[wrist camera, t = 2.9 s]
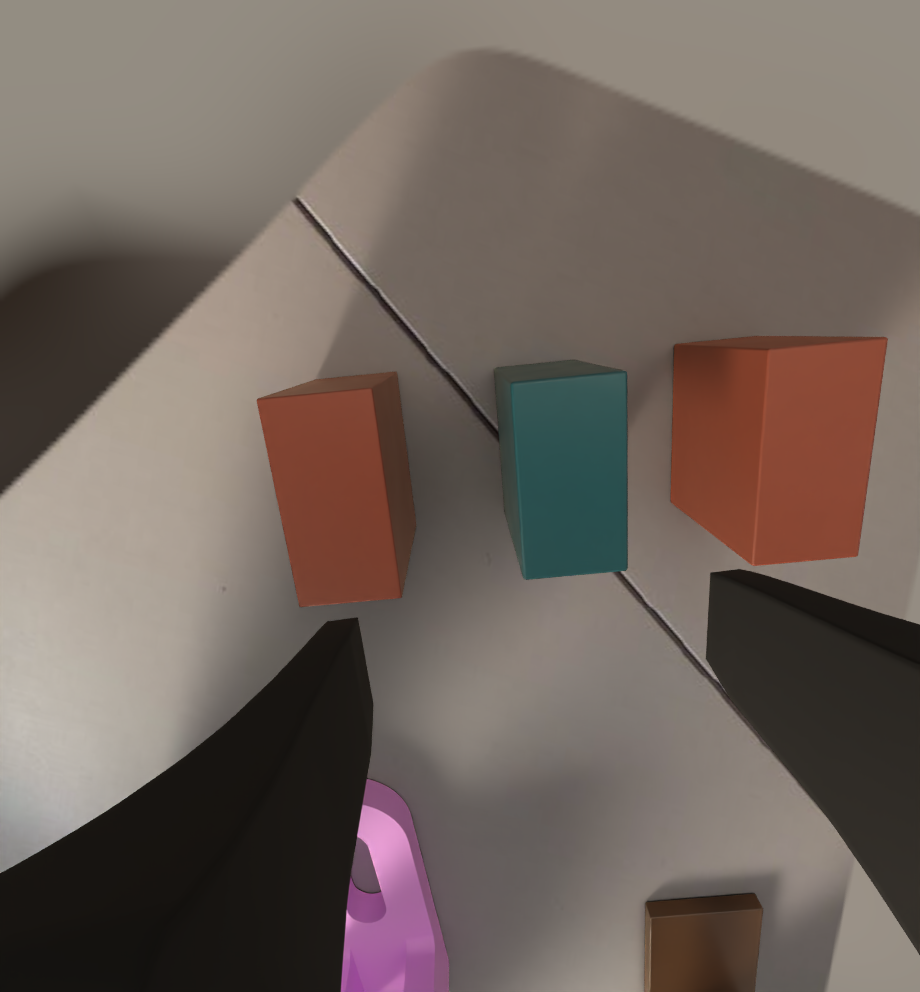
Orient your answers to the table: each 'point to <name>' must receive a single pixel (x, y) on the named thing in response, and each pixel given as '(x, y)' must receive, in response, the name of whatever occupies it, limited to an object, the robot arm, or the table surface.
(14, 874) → the robot arm
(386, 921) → the bracket
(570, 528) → the teal rectangular block
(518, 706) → the table surface
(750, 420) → the pair of orange blocks
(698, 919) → the rack
